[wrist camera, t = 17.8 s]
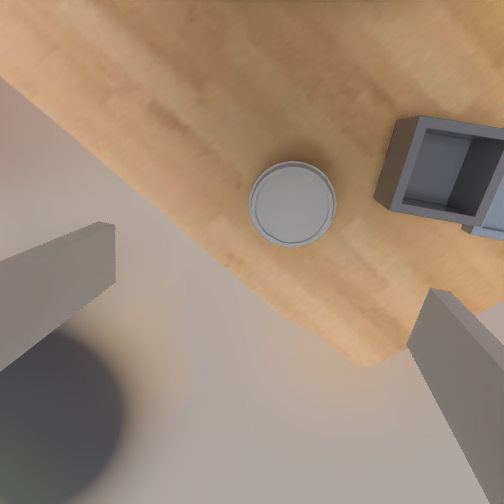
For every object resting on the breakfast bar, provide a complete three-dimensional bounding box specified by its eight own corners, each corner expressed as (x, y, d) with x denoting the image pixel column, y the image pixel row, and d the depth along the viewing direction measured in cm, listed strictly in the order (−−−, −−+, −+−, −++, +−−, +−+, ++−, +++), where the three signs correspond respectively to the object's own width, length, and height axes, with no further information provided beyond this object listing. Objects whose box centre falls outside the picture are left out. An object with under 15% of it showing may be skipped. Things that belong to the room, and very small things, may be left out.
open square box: (397, 120, 39) (420, 115, 31) (479, 133, 38) (523, 131, 30) (373, 198, 42) (389, 210, 35) (448, 211, 42) (480, 227, 34)
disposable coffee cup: (334, 161, 41) (347, 169, 30) (319, 228, 45) (326, 258, 34) (265, 151, 42) (253, 155, 31) (255, 217, 46) (241, 243, 34)
